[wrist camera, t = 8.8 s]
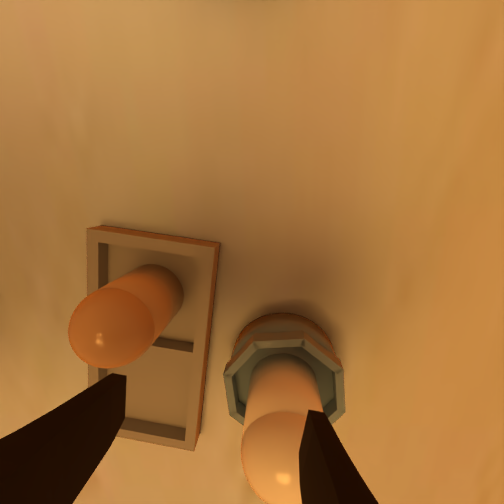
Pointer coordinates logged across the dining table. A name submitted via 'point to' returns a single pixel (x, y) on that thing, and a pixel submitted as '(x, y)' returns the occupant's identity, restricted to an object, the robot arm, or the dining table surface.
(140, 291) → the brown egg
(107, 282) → the divided tray
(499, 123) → the dining table surface
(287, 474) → the tan rounded cylinder
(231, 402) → the octagonal bowl
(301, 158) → the dining table surface
